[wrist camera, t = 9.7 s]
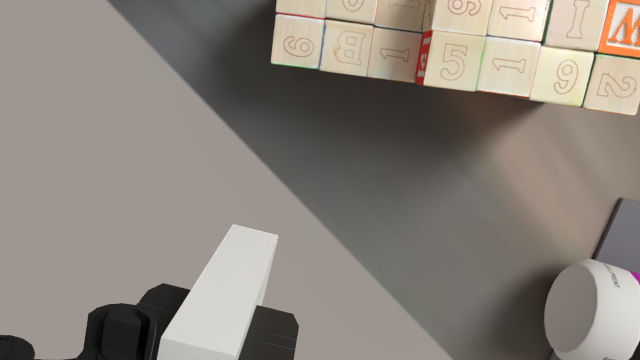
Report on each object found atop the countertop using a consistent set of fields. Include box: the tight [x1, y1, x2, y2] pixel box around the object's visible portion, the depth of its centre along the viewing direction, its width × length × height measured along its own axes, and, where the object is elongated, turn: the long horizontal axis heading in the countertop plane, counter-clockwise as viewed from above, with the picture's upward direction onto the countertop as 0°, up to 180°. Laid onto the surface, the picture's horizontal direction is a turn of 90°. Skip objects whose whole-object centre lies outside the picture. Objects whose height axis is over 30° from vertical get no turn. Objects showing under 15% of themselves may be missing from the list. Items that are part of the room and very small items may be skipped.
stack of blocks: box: [271, 0, 640, 115], centre depth 33 cm, size 21×6×12 cm, turn 82°
